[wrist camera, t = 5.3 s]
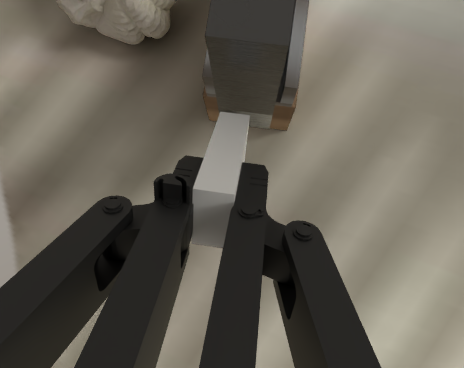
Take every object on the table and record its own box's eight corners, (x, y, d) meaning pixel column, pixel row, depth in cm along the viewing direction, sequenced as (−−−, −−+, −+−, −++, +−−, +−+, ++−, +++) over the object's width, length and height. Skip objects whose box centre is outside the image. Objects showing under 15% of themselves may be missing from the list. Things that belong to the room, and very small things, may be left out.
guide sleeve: (286, 130, 29) (303, 89, 21) (209, 120, 30) (197, 75, 22) (303, -2, 31) (324, -85, 23) (230, -10, 31) (226, -95, 24)
